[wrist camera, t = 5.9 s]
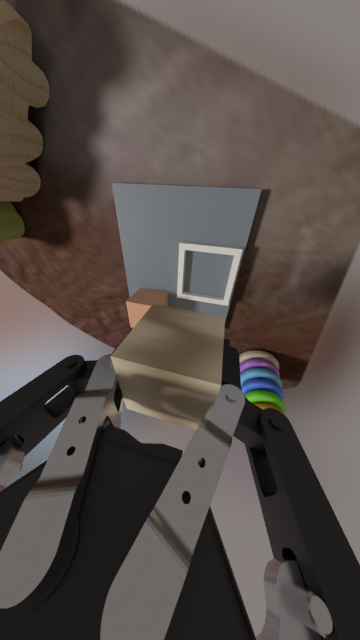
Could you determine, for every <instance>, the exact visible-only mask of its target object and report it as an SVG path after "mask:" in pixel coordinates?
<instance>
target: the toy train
mask: <svg viewBox="0 0 360 640" xmlns="http://www.w3.org/2000/svg"><path fill="white" fill-rule="evenodd" d="M49 97H50V89H49V83H48V81H47V79H46V77H45V75H44V73H43V71H42V70H41V69H40V68H39V67H38V66H37V65H36V64H35V63H34V62H33V61H32V32H31V30H30V27H29V25H28V24H27V23H26V21H25V20H24V19H23V18H22V17H21V16H20V15H19V14H18V13H17V12H16V11H15V9H14V8H13V7H12V6H11V5H10V4H9V3H8V2H7V1H6V0H0V201H10V202H20V201H22V200H23V198H24V197H31V196H33V195H35V194H36V193H37V192H38V191H39V188H40V184H41V180H40V177H39V174H38V173H37V172H36V171H35V170H34V169H33V168H32V167H31V166H30V165H29V164H28V163H27V162H30V161H32V160H34V159H36V158H37V157H39V156H40V155H41V152H42V150H43V138H42V135H41V133H40V132H39V130H38V129H37V127H36V126H35V125H33V124H32V123H31V122H30V121H29V120H28V109H29V105H30V106H33V107H37V108H40V107H44V106H46V104H47V102H48V99H49Z"/></svg>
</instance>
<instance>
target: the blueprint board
mask: <svg viewBox="0 0 360 640" xmlns="http://www.w3.org/2000/svg"><path fill="white" fill-rule="evenodd" d="M112 187H113V194H114V200H115V207H116V213H117V219H118V226H119V232H120V238H121V245H122V251H123V258H124V264H125V270H126V277H127V283H128V289H129V296H130V297H131V296H133V295H134V294H135V293H136V292H137V291H138V290H139V289H140V288H144V289H150V290H156V291H162V292H168V307H173V308H178V309H184V310H189V311H195V312H200V313H206V314H211V315H217V316H222V317H225V321H226V317H227V314H228V310H229V307H230V303H231V299H232V296H233V292H234V288H235V285H236V281H237V278H238V274H239V270H240V267H241V263H242V259H243V256H244V252H245V248H246V245H247V241H248V238H249V234H250V230H251V227H252V223H253V219H254V216H255V212H256V208H257V205H258V201H259V198H260V194H261V190H262V189H248V188H223V187H198V186H174V185H149V184H124V183H112Z"/></svg>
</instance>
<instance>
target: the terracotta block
mask: <svg viewBox="0 0 360 640" xmlns="http://www.w3.org/2000/svg"><path fill="white" fill-rule="evenodd" d="M126 304H127V309H128V315H129V321H130V327H133V328H134V327H135V325H136V324H137V323H138V322H139V321H140V319H141V318H142V317H143V316H144V314H145V313H146V312H147V311H148V310H149V308H150V307H151V306H152V305H153V304H157V305H162V306H167V307H168V292H162V291H156V290H150V289H144V288H140V289H139V290H138V291H137V292H136V293H135V294H134V295H133V296H131V297H130V298H129V299H128V300H127V301H126Z"/></svg>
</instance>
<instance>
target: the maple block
mask: <svg viewBox="0 0 360 640" xmlns="http://www.w3.org/2000/svg"><path fill="white" fill-rule="evenodd" d="M224 327H225V317H222V316H217V315H211V314H206V313H200V312H195V311H189V310H184V309H178V308H173V307H167V306H162V305H157V304H153V305H152V306H151V307H150V308H149V310H148V311H147V312H146V313H145V314H144V316H143V317H142V318H141V319H140V321H139V322H138V323H137V324H136V325H135V327H134V328H133V329H132V330H131V332H130V333H129V334H128V335H127V336H126V338H125V339H124V340H123V341H122V343H121V344H120V345H119V346H118V347H117V349H116V350H115V351H114V352H113V354H112V355H111V356H110V357H111V360H112V363H113V366H114V370H115V373H116V374H117V377H118V382H119V386H120V389H121V392H122V394H123V396H124V401H125V404H126V408H127V409H130V410H133V411H136V412H139V413H142V414H145V415H149V416H152V417H155V418H158V419H161V420H164V421H167V422H170V423H173V424H177V425H180V426H183V427H186V428H189V429H192V430H195V431H196V429H197V427H198V426H199V424H200V422H201V421H202V420H203V419H204V417H205V415H206V413H207V411H208V409H209V408H210V406H211V404H212V402H213V401H216V398H217V395H218V393H219V390H220V387H221V379H222V362H223V345H224Z"/></svg>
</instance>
